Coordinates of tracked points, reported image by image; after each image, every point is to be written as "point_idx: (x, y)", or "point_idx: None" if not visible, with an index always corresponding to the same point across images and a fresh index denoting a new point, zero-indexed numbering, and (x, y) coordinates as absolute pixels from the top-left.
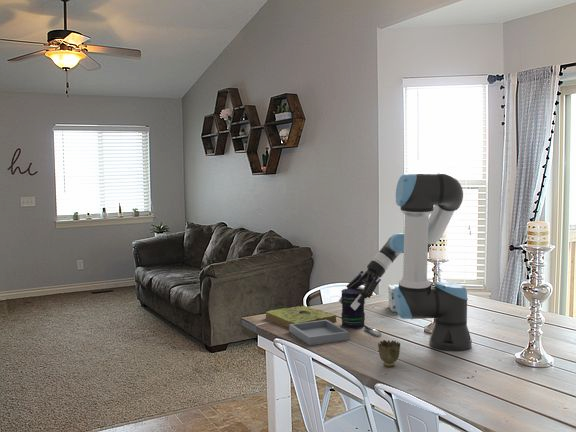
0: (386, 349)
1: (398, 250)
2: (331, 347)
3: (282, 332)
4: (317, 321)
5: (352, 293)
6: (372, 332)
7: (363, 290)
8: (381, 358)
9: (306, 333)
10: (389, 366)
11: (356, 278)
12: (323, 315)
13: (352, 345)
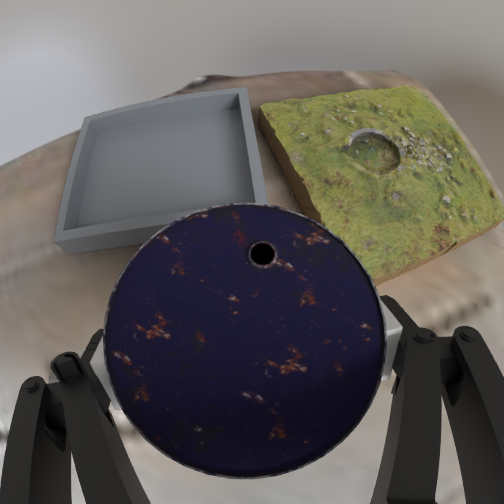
0: None
1: None
2: (47, 181)
3: (248, 93)
4: (251, 167)
5: (121, 277)
6: None
7: (86, 408)
8: None
9: (187, 135)
10: None
11: (500, 454)
12: (361, 227)
13: (27, 242)
